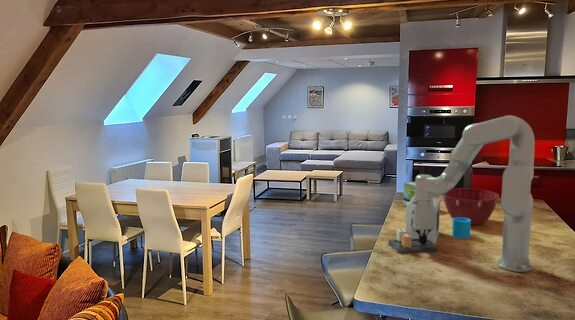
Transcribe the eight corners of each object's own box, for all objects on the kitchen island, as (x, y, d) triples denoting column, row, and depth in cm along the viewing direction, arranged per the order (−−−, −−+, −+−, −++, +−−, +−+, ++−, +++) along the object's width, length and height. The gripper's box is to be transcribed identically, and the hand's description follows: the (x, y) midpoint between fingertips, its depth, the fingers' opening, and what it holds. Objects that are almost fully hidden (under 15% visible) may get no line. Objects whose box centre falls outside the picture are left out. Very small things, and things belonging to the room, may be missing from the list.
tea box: (402, 205, 285) (403, 182, 283) (415, 204, 289) (416, 181, 287) (419, 211, 272) (420, 186, 270) (432, 209, 276) (433, 185, 274)
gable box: (412, 229, 236) (413, 175, 232) (439, 232, 231) (441, 177, 227) (405, 242, 216) (406, 183, 212) (434, 245, 211) (436, 185, 207)
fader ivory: (405, 241, 209) (405, 231, 208) (399, 241, 208) (399, 231, 208) (402, 238, 213) (402, 228, 212) (396, 238, 212) (396, 228, 212)
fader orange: (411, 247, 201) (411, 236, 200) (404, 247, 200) (404, 236, 200) (407, 244, 205) (408, 233, 204) (401, 244, 204) (401, 233, 204)
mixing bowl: (489, 232, 229) (491, 201, 227) (433, 223, 246) (434, 194, 244) (503, 219, 251) (504, 192, 249) (450, 212, 269) (451, 186, 266)
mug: (468, 239, 218) (468, 222, 217) (450, 236, 223) (450, 220, 222) (473, 233, 228) (474, 216, 227) (456, 230, 233) (456, 214, 232)
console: (437, 250, 202) (437, 246, 202) (397, 252, 200) (397, 247, 200) (426, 242, 214) (426, 237, 214) (388, 244, 212) (388, 239, 212)
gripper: (410, 205, 196) (409, 247, 199) (444, 204, 198) (442, 245, 200) (404, 201, 204) (403, 242, 206) (436, 200, 205) (435, 240, 208)
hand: (422, 243), depth 203 cm, fingers closed
